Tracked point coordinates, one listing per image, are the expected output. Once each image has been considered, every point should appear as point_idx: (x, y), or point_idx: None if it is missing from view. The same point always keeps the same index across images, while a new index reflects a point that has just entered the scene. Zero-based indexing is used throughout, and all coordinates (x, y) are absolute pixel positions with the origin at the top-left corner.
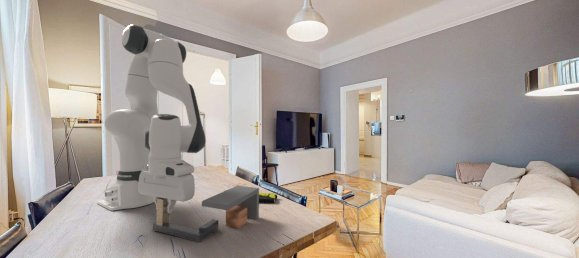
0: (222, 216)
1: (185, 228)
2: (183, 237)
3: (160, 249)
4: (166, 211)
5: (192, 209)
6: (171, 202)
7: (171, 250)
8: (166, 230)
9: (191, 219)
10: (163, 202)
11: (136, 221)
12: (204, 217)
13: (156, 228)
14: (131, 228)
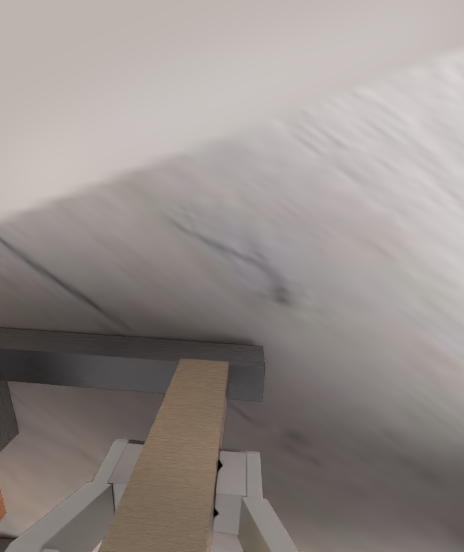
0: None
1: (46, 375)
2: (49, 332)
3: (62, 226)
4: (135, 446)
5: None
6: (12, 550)
7: (8, 235)
8: (157, 347)
9: None
10: (108, 535)
11: (449, 397)
12: None
13: (233, 351)
14: (404, 335)
